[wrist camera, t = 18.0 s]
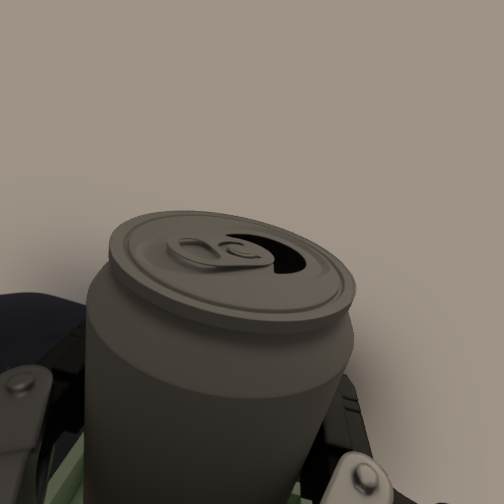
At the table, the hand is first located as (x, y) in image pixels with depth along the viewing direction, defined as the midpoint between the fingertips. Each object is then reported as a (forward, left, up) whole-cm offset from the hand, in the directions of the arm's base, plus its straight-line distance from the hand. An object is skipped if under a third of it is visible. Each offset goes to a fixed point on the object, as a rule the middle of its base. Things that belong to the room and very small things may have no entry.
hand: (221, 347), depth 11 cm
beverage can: (0, -2, -7) cm, 8 cm away
